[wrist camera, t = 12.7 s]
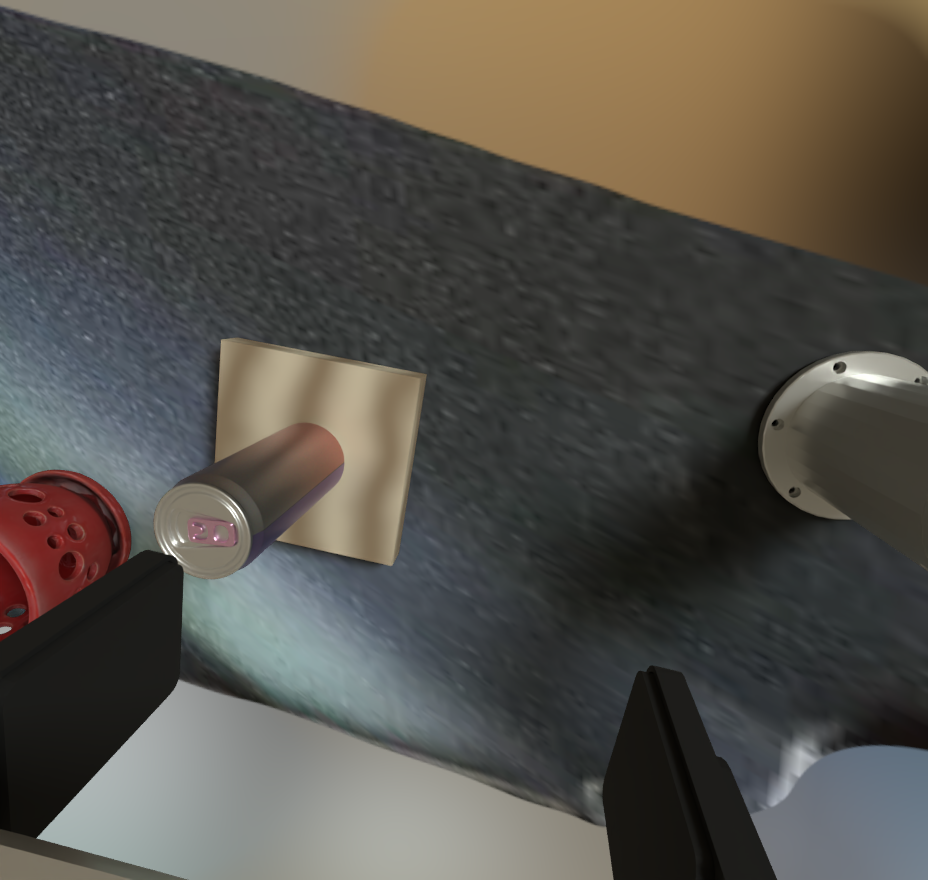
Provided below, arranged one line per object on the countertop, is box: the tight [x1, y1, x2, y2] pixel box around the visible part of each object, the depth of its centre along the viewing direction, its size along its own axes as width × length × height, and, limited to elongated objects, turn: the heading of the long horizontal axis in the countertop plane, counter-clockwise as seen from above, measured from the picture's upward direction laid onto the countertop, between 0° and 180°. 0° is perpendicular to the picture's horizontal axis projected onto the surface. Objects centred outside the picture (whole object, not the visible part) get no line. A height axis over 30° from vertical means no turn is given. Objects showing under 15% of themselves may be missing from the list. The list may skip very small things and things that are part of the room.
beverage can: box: [154, 422, 344, 579], centre depth 36 cm, size 6×6×15 cm
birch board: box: [215, 338, 427, 566], centre depth 45 cm, size 16×16×2 cm
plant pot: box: [0, 470, 131, 641], centre depth 45 cm, size 13×13×12 cm
